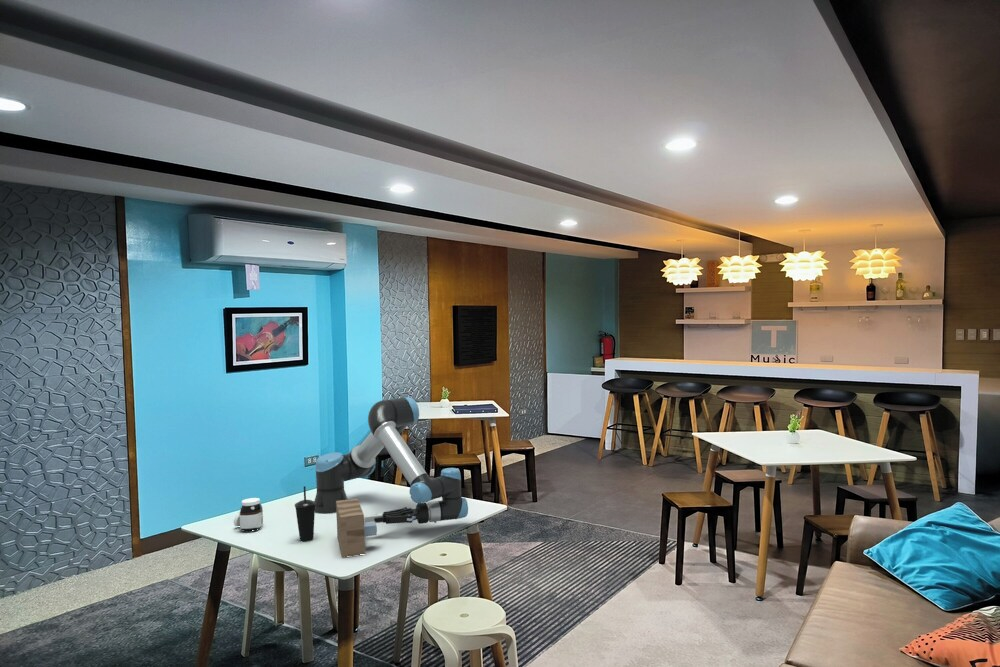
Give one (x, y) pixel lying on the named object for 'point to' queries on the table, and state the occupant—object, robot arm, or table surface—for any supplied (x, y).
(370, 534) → the slate key
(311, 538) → the drinking cup
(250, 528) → the spread jar
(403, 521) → the robot arm
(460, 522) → the table surface
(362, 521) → the brown wooden block
